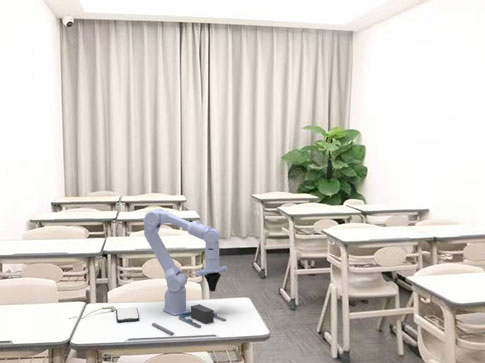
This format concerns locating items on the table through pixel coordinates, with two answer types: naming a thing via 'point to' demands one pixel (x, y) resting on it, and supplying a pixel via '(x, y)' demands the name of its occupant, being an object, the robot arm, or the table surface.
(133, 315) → the phone case
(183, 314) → the silver and blue frame
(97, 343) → the table surface
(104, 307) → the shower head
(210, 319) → the dark grey block
